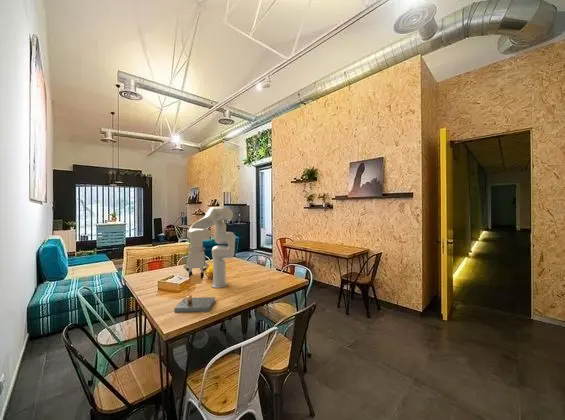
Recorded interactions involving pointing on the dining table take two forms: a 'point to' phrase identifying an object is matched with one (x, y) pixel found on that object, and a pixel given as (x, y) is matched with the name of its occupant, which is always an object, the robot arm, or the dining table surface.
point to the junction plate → (195, 304)
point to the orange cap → (196, 278)
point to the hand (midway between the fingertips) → (196, 278)
